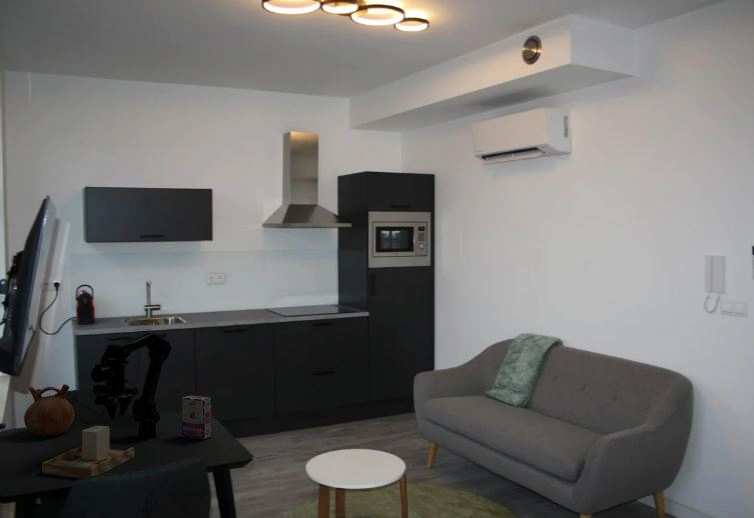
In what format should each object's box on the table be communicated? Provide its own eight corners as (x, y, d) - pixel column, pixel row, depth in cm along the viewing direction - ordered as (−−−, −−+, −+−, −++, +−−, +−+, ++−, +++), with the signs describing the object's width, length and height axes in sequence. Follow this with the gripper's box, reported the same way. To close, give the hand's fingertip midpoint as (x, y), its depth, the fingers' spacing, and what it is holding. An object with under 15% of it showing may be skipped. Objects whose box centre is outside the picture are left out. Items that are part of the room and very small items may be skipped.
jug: (22, 442, 257) (21, 392, 257) (26, 430, 274) (25, 382, 273) (73, 437, 265) (73, 388, 264) (74, 425, 281) (74, 378, 280)
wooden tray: (88, 451, 247) (88, 442, 247) (134, 456, 242) (134, 447, 242) (41, 473, 224) (41, 463, 224) (91, 479, 219) (91, 469, 219)
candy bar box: (211, 437, 266) (211, 397, 265) (204, 440, 261) (204, 400, 261) (189, 434, 270) (189, 394, 270) (181, 437, 266) (181, 397, 265)
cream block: (95, 452, 240) (95, 425, 240) (109, 453, 239) (109, 426, 239) (82, 458, 234) (81, 430, 233) (96, 460, 232) (96, 432, 232)
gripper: (114, 371, 260) (114, 410, 261) (81, 381, 242) (82, 422, 243) (139, 372, 258) (139, 412, 258) (107, 383, 240) (108, 425, 240)
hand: (117, 417), depth 250 cm, fingers open, 5 cm apart
